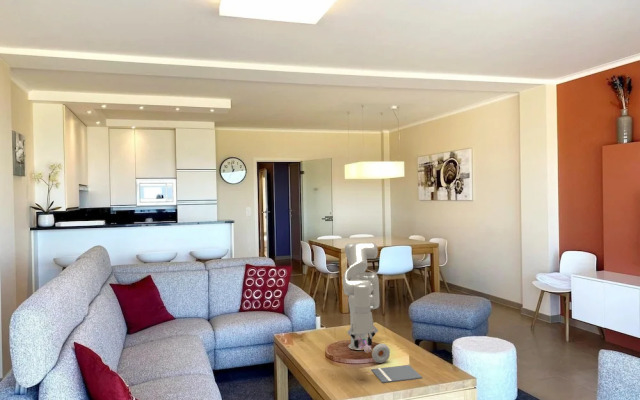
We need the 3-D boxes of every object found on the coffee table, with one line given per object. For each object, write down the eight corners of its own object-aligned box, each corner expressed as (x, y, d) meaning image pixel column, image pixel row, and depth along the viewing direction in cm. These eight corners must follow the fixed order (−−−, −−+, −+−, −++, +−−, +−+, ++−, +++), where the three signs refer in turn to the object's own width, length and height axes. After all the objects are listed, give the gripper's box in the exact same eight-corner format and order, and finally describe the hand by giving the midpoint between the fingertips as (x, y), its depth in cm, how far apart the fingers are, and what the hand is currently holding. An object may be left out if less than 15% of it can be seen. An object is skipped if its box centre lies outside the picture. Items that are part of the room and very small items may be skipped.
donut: (373, 365, 245) (373, 346, 245) (370, 363, 248) (370, 344, 248) (391, 362, 248) (390, 343, 248) (388, 360, 251) (387, 341, 251)
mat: (371, 370, 239) (371, 368, 239) (408, 365, 243) (408, 364, 243) (382, 383, 223) (382, 381, 223) (422, 378, 227) (422, 376, 227)
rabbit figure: (376, 355, 223) (360, 340, 237) (376, 343, 222) (361, 329, 236) (364, 357, 221) (349, 342, 234) (365, 345, 220) (350, 331, 233)
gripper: (377, 306, 234) (377, 342, 234) (342, 309, 230) (343, 346, 231) (381, 310, 226) (382, 348, 227) (346, 313, 223) (347, 351, 224)
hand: (363, 346), depth 229 cm, fingers closed on rabbit figure, 5 cm apart
